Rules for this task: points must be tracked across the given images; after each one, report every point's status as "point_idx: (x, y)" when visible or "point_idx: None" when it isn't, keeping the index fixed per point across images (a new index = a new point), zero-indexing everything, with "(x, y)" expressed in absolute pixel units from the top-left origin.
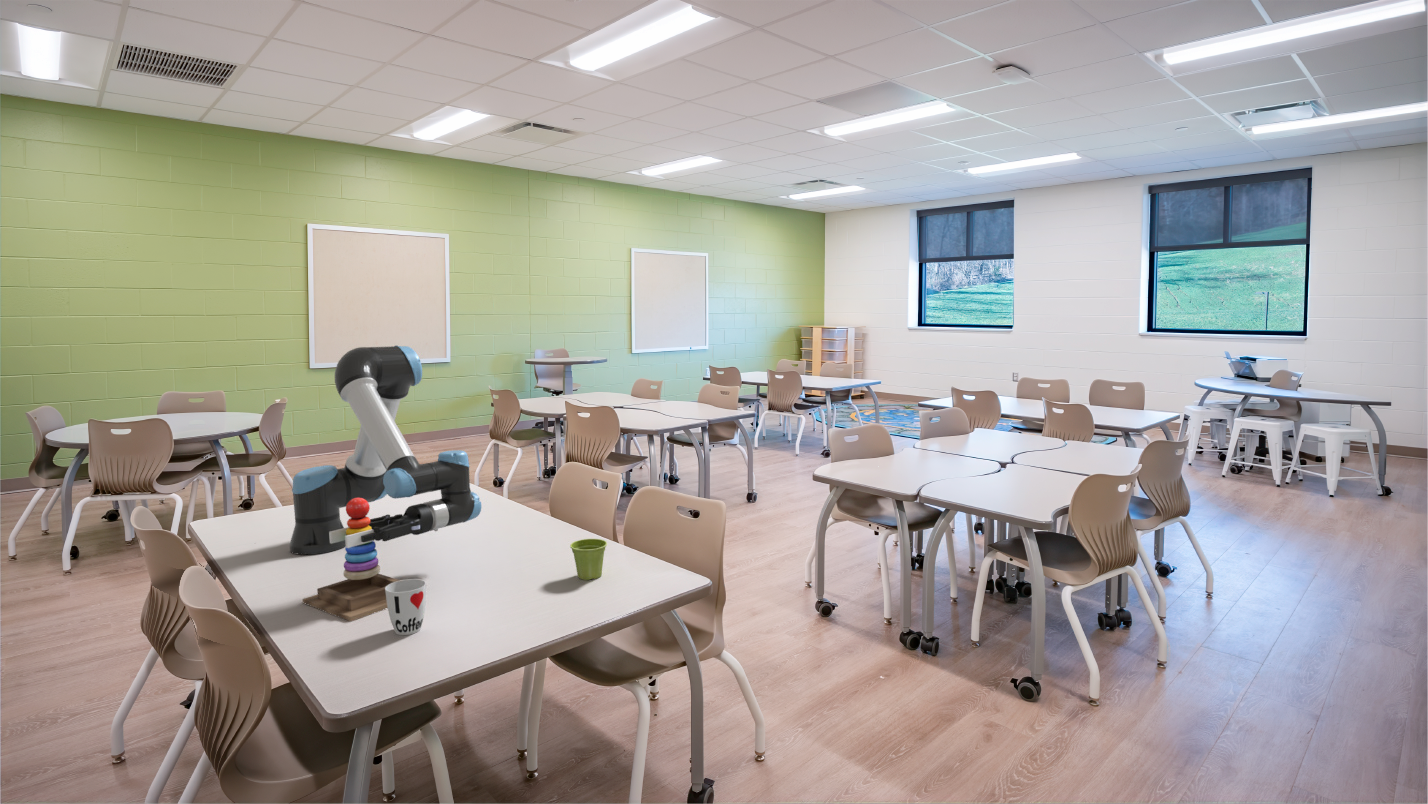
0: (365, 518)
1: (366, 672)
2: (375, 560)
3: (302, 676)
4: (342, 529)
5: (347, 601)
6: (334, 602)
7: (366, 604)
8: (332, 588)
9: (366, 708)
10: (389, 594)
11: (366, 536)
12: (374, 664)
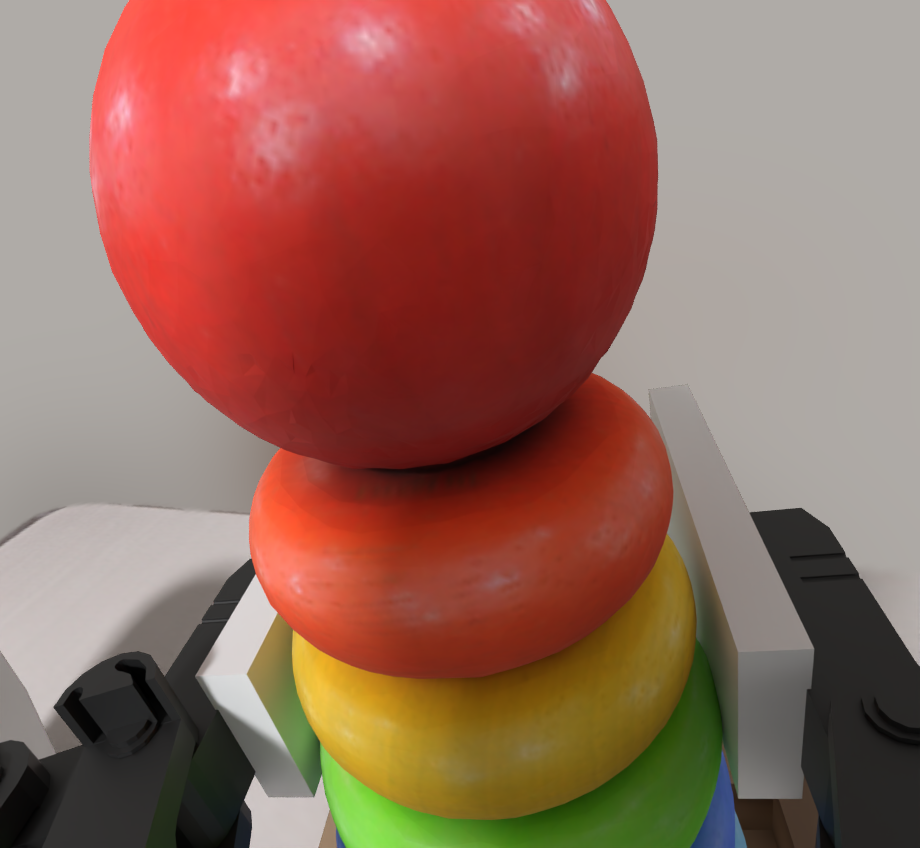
0: (284, 471)
1: (63, 593)
2: None
3: (223, 515)
4: (677, 468)
5: None
6: None
7: None
8: (787, 840)
9: (4, 538)
10: None
11: (230, 591)
12: (56, 621)
